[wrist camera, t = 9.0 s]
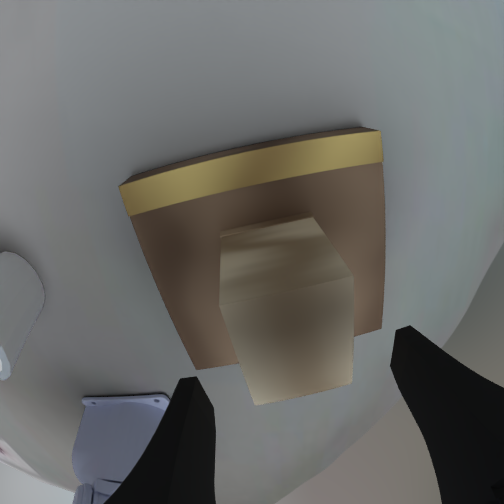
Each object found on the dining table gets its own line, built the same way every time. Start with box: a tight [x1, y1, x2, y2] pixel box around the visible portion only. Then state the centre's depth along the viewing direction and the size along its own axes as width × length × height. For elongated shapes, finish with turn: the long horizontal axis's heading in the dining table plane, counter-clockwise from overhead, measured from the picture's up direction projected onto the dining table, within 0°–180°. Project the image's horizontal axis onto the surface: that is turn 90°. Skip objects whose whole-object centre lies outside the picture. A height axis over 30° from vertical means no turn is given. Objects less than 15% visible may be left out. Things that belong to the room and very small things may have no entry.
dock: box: [119, 127, 385, 370], centre depth 17 cm, size 13×13×2 cm
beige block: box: [219, 212, 354, 406], centre depth 14 cm, size 5×6×6 cm
